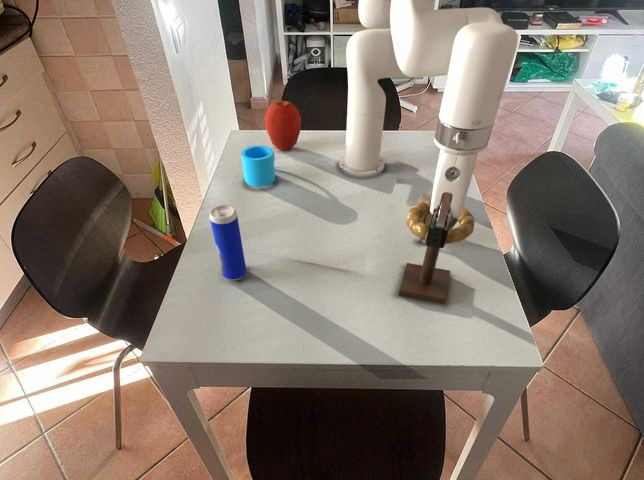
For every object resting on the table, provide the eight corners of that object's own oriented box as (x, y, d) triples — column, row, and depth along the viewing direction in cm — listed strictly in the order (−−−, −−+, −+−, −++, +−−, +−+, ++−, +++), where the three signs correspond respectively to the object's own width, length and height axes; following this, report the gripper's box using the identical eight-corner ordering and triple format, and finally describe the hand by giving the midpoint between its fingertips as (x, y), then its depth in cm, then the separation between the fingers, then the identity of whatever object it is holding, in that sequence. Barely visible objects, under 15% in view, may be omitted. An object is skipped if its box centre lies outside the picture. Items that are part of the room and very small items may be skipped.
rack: (405, 268, 91) (417, 212, 81) (448, 276, 89) (465, 219, 79) (398, 295, 86) (409, 239, 75) (443, 304, 84) (461, 248, 73)
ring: (411, 205, 83) (414, 193, 81) (474, 215, 80) (478, 203, 78) (400, 239, 75) (402, 227, 74) (469, 251, 73) (473, 239, 71)
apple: (307, 144, 129) (306, 94, 119) (291, 158, 124) (288, 107, 113) (278, 138, 133) (274, 88, 122) (261, 151, 127) (256, 100, 116)
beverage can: (223, 267, 93) (209, 204, 81) (246, 265, 93) (236, 203, 81) (222, 282, 89) (207, 220, 78) (246, 281, 89) (236, 218, 78)
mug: (266, 192, 112) (263, 162, 106) (239, 186, 114) (235, 156, 108) (287, 172, 119) (285, 142, 113) (261, 166, 121) (258, 137, 115)
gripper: (487, 161, 55) (452, 273, 69) (493, 112, 65) (461, 218, 79) (428, 154, 57) (406, 264, 71) (443, 107, 67) (421, 212, 81)
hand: (435, 239), depth 75 cm, fingers closed on ring, 2 cm apart
